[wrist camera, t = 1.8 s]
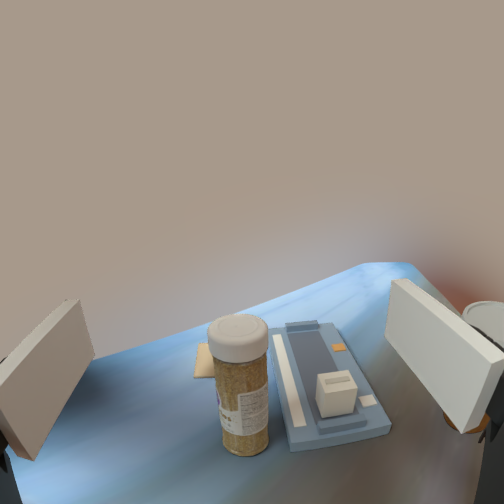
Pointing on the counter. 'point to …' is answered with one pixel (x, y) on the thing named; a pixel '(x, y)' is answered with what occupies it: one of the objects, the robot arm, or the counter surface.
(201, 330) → the counter surface
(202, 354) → the cork coaster
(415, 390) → the counter surface
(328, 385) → the ivory tab
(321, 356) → the switch board
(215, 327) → the sprinkles bottle
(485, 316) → the disposable coffee cup
